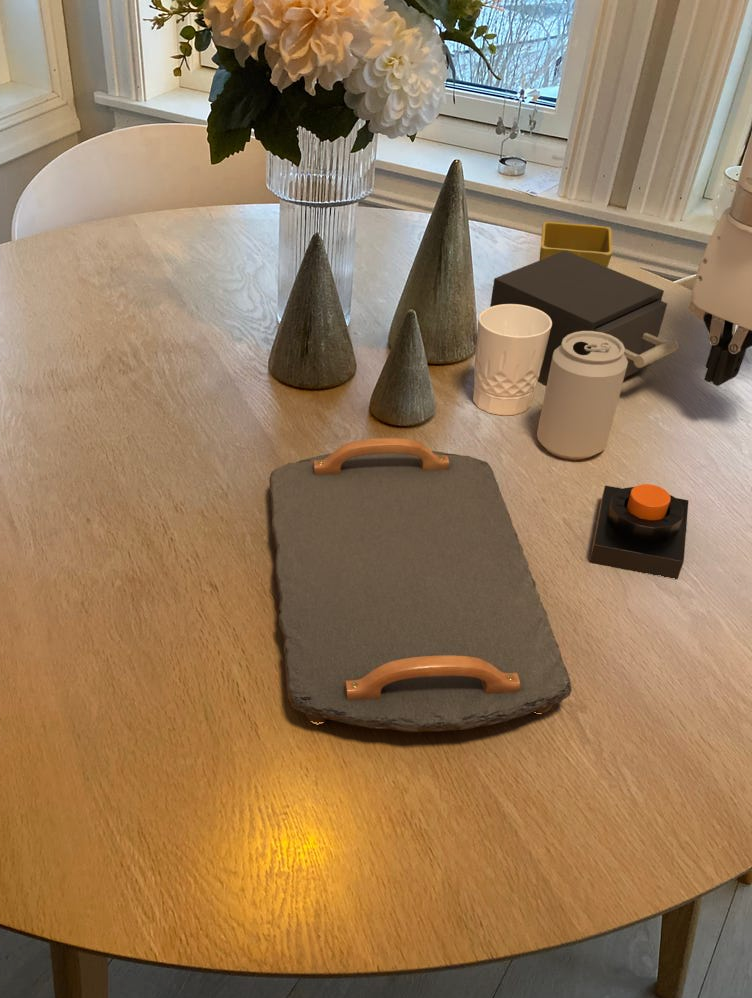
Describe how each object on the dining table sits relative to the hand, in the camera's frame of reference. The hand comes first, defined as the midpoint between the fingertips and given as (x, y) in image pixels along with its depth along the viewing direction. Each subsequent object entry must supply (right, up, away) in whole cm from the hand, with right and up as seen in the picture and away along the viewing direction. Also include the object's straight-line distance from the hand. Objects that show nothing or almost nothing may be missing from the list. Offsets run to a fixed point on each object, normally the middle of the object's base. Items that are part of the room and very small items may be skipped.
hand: (718, 378), depth 107 cm
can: (-15, -7, +2) cm, 17 cm away
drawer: (-10, +5, +12) cm, 17 cm away
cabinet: (-12, +6, +15) cm, 21 cm away
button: (-13, -16, -13) cm, 24 cm away
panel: (-13, -18, -10) cm, 25 cm away
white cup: (-21, -1, +9) cm, 23 cm away
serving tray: (-36, -24, -15) cm, 46 cm away
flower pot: (-9, +17, +26) cm, 32 cm away
